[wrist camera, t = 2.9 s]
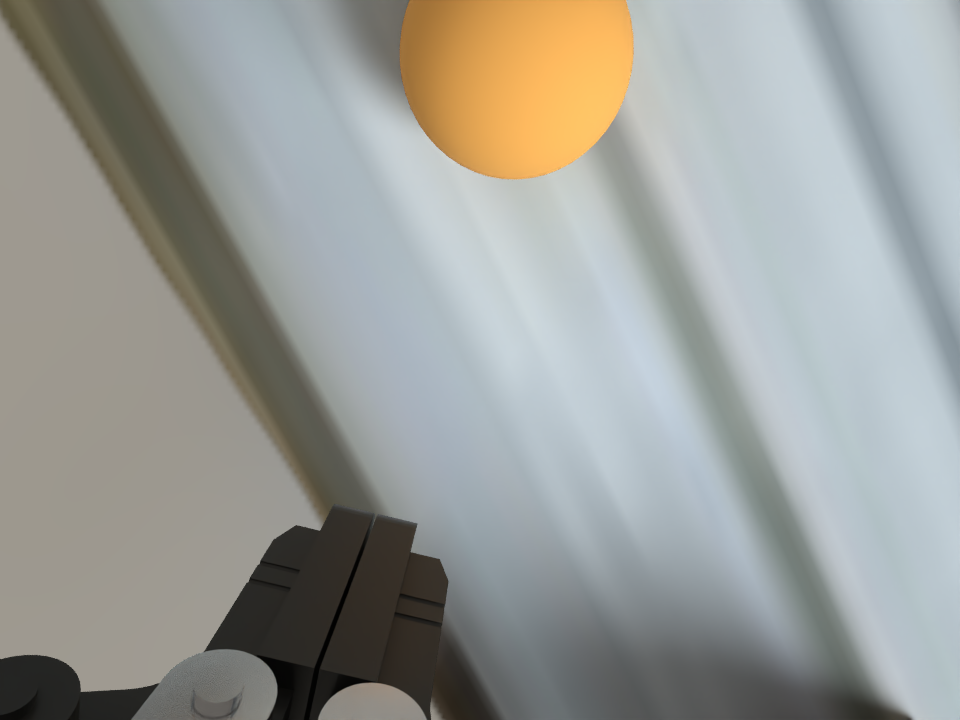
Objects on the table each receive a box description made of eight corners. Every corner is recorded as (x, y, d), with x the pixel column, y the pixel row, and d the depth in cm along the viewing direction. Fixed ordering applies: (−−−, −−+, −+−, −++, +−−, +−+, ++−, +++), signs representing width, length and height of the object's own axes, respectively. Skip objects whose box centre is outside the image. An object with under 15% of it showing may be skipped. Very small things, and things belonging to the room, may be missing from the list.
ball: (641, -10, 18) (696, -84, 13) (583, 196, 20) (607, 212, 15) (442, -62, 18) (407, -159, 13) (401, 150, 20) (354, 148, 15)
